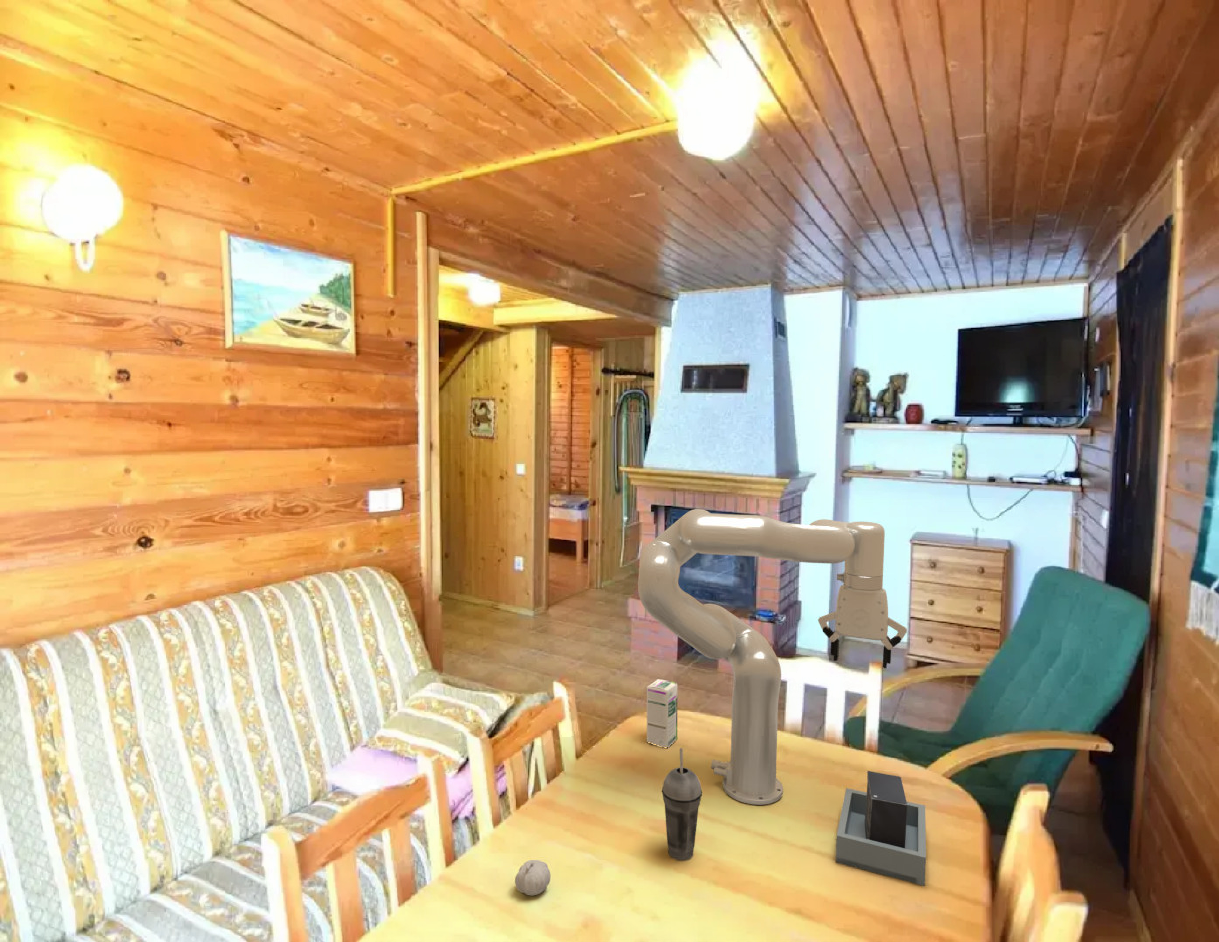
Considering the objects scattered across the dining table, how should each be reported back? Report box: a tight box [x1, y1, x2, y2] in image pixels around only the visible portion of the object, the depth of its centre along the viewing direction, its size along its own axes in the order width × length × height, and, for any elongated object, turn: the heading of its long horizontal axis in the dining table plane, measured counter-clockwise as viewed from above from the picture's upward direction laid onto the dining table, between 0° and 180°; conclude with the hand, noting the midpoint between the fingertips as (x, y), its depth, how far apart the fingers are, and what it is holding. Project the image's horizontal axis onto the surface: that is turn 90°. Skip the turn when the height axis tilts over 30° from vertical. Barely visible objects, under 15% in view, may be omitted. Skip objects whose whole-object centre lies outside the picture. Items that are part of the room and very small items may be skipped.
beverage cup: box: [661, 747, 703, 862], centre depth 122 cm, size 7×7×20 cm
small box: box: [865, 770, 908, 848], centre depth 125 cm, size 11×6×10 cm, turn 163°
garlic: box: [514, 859, 551, 896], centre depth 112 cm, size 6×5×5 cm
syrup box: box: [646, 678, 678, 748], centre depth 165 cm, size 6×6×14 cm
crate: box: [835, 787, 927, 887], centre depth 125 cm, size 14×17×5 cm
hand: (860, 662), depth 141 cm, fingers open, 9 cm apart
